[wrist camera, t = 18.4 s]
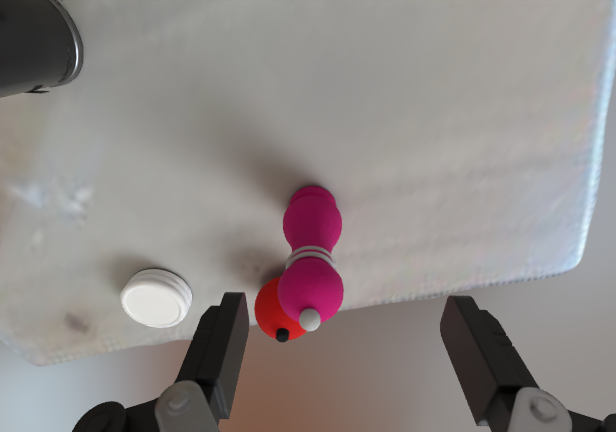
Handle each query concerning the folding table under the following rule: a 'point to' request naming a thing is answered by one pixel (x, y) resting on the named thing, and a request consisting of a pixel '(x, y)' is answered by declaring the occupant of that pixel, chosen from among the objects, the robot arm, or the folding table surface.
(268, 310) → the ornament
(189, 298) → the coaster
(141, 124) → the folding table surface
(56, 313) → the folding table surface
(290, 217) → the pepper mill
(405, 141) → the folding table surface
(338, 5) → the folding table surface
